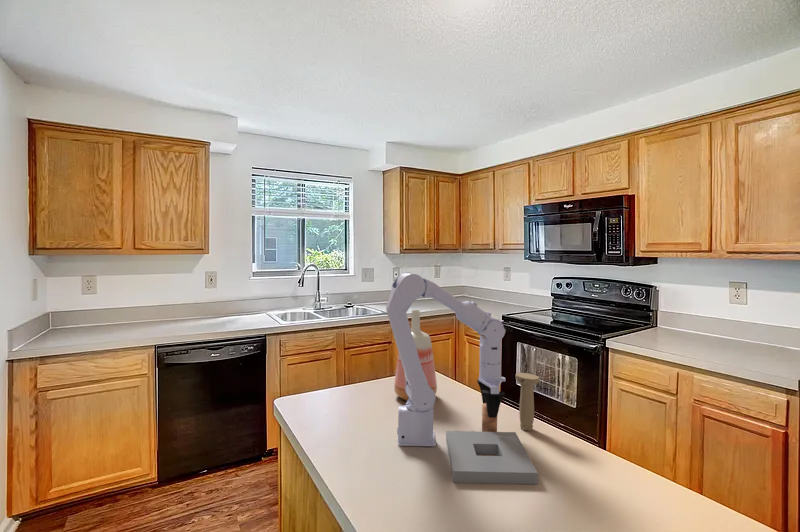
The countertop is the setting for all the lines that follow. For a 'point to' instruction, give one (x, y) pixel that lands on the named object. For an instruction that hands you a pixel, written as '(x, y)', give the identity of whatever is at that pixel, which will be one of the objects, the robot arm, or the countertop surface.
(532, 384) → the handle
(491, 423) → the peg
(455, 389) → the countertop surface
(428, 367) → the vase
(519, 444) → the socket plate
